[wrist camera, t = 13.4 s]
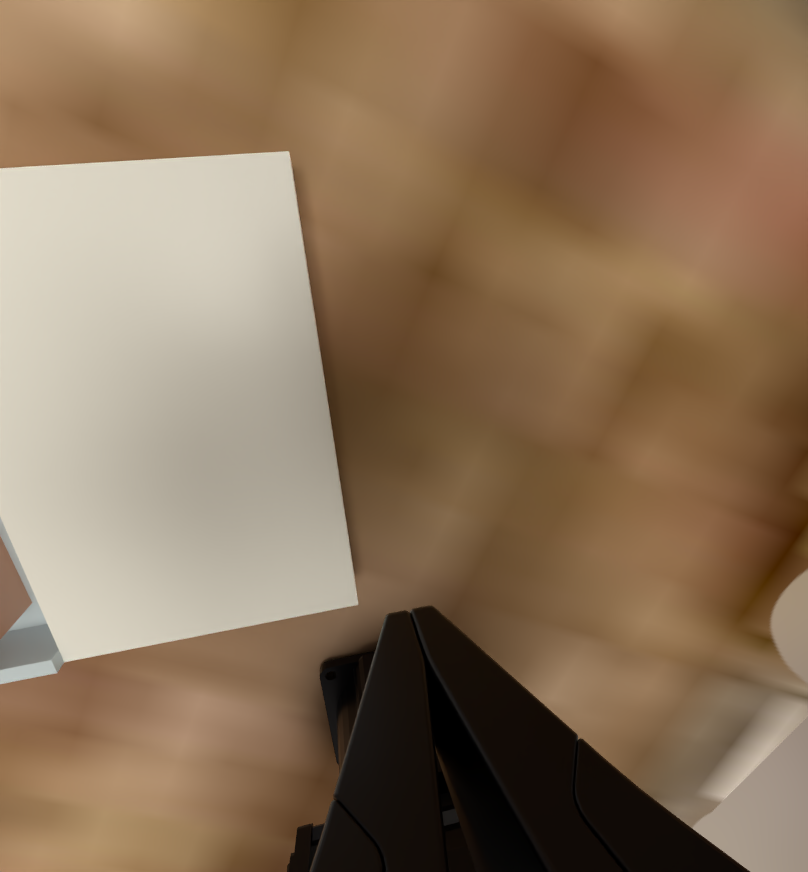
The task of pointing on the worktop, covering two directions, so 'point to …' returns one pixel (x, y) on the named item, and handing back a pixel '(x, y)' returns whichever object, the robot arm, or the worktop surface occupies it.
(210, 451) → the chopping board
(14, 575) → the terracotta tile
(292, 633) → the worktop surface
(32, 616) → the tray
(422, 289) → the worktop surface
